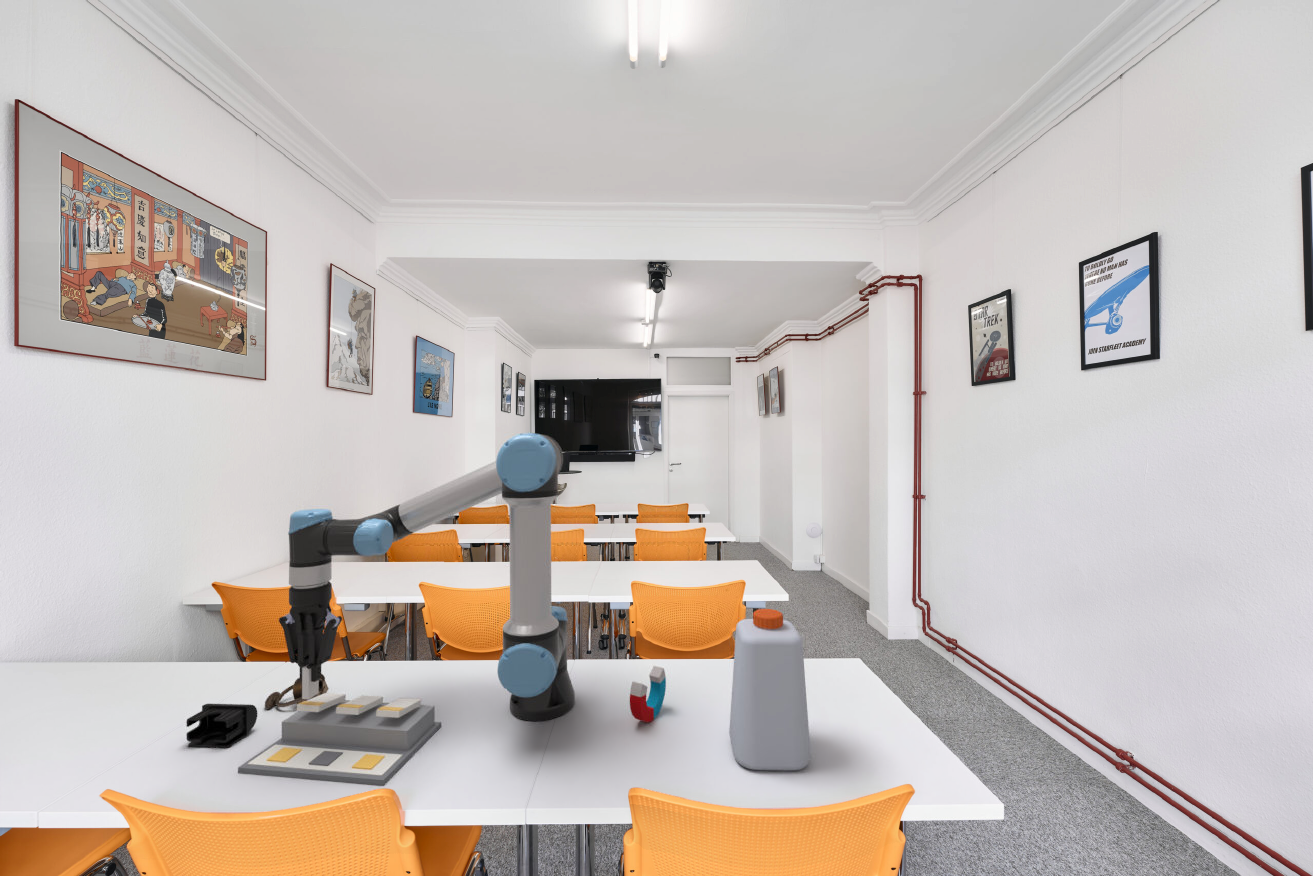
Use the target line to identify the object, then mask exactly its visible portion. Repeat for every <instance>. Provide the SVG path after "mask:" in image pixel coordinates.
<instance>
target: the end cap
mask: <svg viewBox="0 0 1313 876" xmlns="http://www.w3.org/2000/svg"><path fill="white" fill-rule="evenodd" d="M257 719H258V709H257V707H256V705H254V704H245V703H243V704H241V703H240V704H238V703H237V704H236V703H235V704H234V703H233V704H232V703H204V704H202V706H201V711H199V712H197V713H195V714H193V715H192V716H190V717H188V718H186V727H187V728H188V727H191V726H192V725H194V724H196V723H197V722H198V725H197V726H196V727H194V728H193V729H191V730H189V731H188V732H186V741H187V742H188V744H187V747H188V748H190V749H191V748H194V749H196V748H197V749H229V748H232V747H233V746H234V745H236V744H237V743H239V742H240V741H242V740H243V739H245V738H246V736H247V735H248V734H249V733H250V732H251V731H252V730H253V728H254V726H255V725H256V722H257Z"/></svg>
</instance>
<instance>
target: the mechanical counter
mask: <svg viewBox="0 0 1313 876" xmlns="http://www.w3.org/2000/svg"><path fill="white" fill-rule="evenodd" d="M329 689H330V688H329V686H328V684H327V681H326V678H325V675H324V674H323V673H321V679H319V693H318V694H316V695H315V696H313V697H312V698H314V697H317V696H319V695H322V694H324V693H328V690H329ZM291 691H292V697H293V699H292V700H288V701H286V702H281V700H282V699H283V697H284V696H285V695H286V694H288V693H289V692H291ZM312 698H310V699H312ZM307 700H309V699H302V681H300V677H298V678H297V679H295V681H294V683H293V684H292V685H290V686H288V687H287V688H285V689H283V691H282V692H281V693H280V692H279V691H273V692H272V693H270V694H269V696H267V697H266V700H265V701H264V708H265V709H267V710H271V709H273V708H274V707H275V706H277V707H278V708H285V707H286V708H287V707H291V706H293V705H297V704H298V703H301V702H303V701H307Z"/></svg>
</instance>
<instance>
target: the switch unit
mask: <svg viewBox="0 0 1313 876" xmlns="http://www.w3.org/2000/svg"><path fill="white" fill-rule="evenodd" d="M351 700H352V699H350V700H349V699H348V700H347V699H345V700H344V701H342V702H340V703H338V704H335V705H333V706H331V707H329V708H326V709H324V710H322V711H319V712H310V711H296V712H295V713H293V714H292V715H290V716H289V717H286V718H285V719H284V720H283V721H281V738H279V739H278V740H276V741H275V742H274V743H272V744H270V745H269V746H267V747H266V748H265V749H263V750H261V751H260V752H258V753H257V754H256V755H254V756H253V757H251V758H250V759H249V760H246V761H245V762H244V763H242V764H241V765H239V766H238V767H237V773H238V774H246V775H248V774H249V775H258V776H259V775H260V776H271V777H280V778H282V777H284V778H293V779H294V778H295V779H305V780H317V781H328V782H337V783H338V782H340V783H349V784H350V783H351V784H363V785H374V786H385V785H386V784H387V782H389V780H390V779H392V777H394V775H396V774H397V773H398V771H399V770H400V769H401V768H403V766H404V765H405V764H406V763H407V762H408V761H409V760H411V758H412V757H413V756H414V755H415V754H416V753H417V752H418V751H419V750H420V749H421V748H422V747H423V746H424V745H425V744H426V743H427V742H428V741H429V740H430V739H431V738H432V737H433V736H434V735H435V734H436V733H437V732H438V731H439V730H440V729H441V728H442V721H435V709H436V708H435V705H424V704H421V705H420V706H418V707H417V708H415V709H413V710H411V711H410V712H408V713H406V714H404V715H403V716H401V717H399V718H395V717H381V716H376V711H377V709H378V708H380V707H382V706H385V705H387V704H389V703H390V702H383V703H381V704H379V705H377V706H375V707H373V708H371V709H369V710H367V711H365V712H363V713H361V714H359V715H352V714H338V713H336V707H338V706H339V705H341V704H344V703H347V702H349V701H351Z"/></svg>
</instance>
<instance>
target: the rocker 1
mask: <svg viewBox="0 0 1313 876" xmlns="http://www.w3.org/2000/svg"><path fill="white" fill-rule="evenodd" d="M346 696H347V695H346V693H345V694H343V693H328V692H327V693H324V694H322V695H319V696H317V697H314V698H312V699H309V700H307V701H303V702H301V703H298V704H297V703H296V712H298V711H310V712H319V711H322V710H324V709H326V708H329V707H331V706H333V705H335V704H338V703H340V702H342V701H344V700H346Z"/></svg>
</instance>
